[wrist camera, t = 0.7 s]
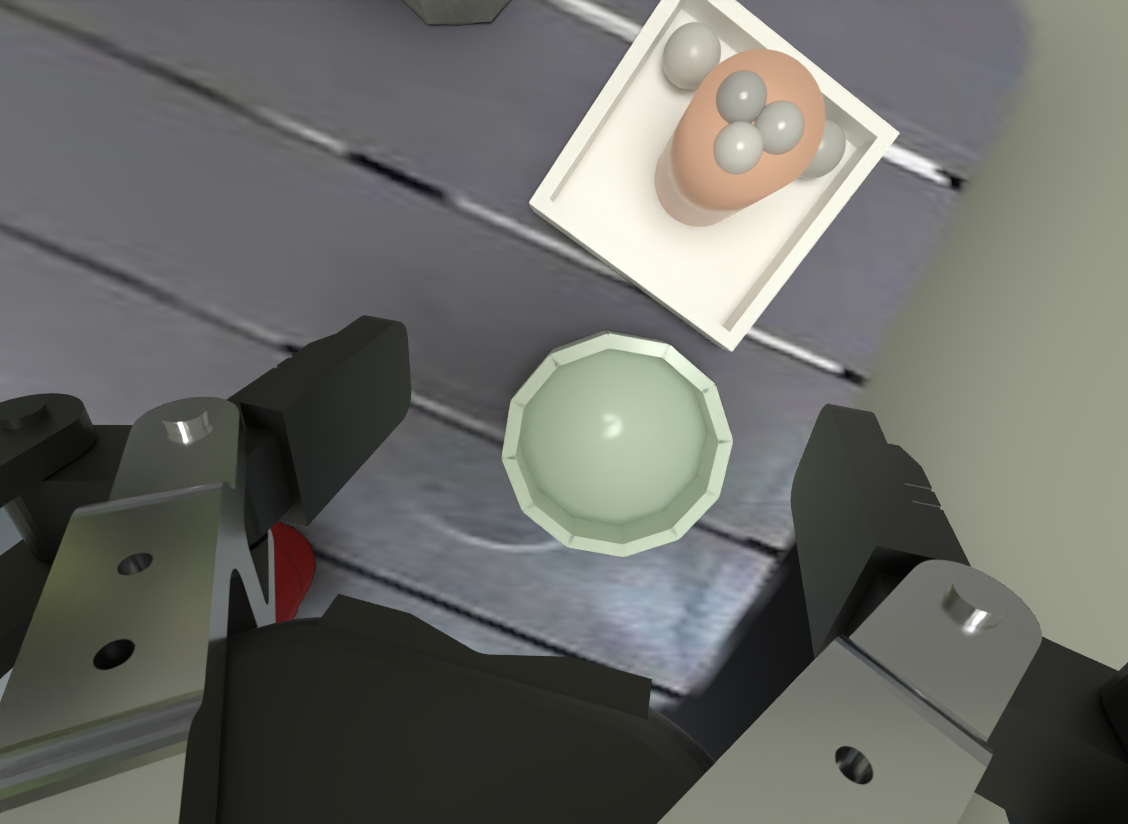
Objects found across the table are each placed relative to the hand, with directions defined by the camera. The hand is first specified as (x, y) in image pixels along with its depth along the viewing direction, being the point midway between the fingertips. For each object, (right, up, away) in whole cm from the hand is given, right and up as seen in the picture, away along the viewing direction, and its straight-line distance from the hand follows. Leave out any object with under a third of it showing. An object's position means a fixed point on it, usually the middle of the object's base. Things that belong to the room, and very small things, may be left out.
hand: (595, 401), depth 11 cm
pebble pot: (+7, +13, +21) cm, 26 cm away
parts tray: (+7, +13, +22) cm, 27 cm away
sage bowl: (+2, -2, +25) cm, 25 cm away
